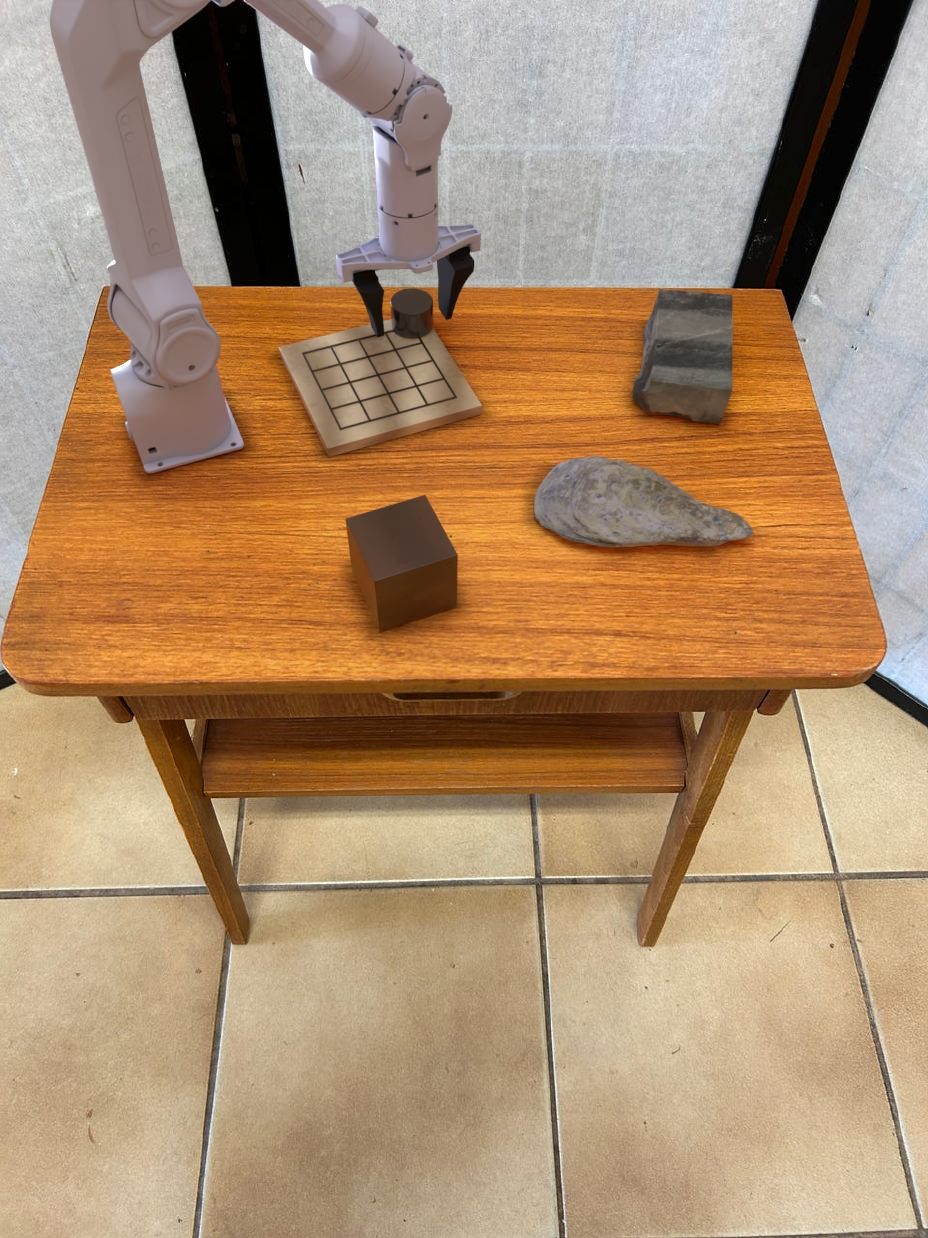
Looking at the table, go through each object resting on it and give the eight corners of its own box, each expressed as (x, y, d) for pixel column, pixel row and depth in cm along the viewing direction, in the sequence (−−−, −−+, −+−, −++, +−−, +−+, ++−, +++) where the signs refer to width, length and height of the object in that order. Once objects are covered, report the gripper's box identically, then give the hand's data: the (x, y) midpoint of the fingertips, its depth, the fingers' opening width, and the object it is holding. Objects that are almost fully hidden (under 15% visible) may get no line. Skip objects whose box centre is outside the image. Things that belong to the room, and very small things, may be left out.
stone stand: (379, 633, 79) (374, 581, 73) (352, 571, 83) (345, 518, 77) (457, 607, 81) (458, 554, 75) (426, 548, 85) (425, 494, 79)
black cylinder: (400, 342, 99) (399, 318, 96) (385, 317, 101) (384, 293, 99) (439, 332, 100) (439, 308, 97) (424, 308, 102) (423, 283, 100)
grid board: (328, 457, 91) (327, 447, 90) (280, 355, 99) (278, 345, 98) (481, 414, 95) (482, 404, 94) (422, 320, 103) (422, 309, 102)
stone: (740, 587, 85) (741, 501, 91) (754, 564, 82) (755, 476, 87) (526, 546, 85) (540, 462, 91) (533, 522, 82) (546, 436, 88)
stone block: (630, 416, 95) (639, 375, 91) (638, 326, 103) (646, 284, 99) (721, 427, 94) (733, 385, 90) (721, 335, 102) (733, 293, 98)
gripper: (348, 240, 85) (359, 362, 96) (495, 207, 89) (490, 328, 100) (323, 200, 89) (336, 321, 100) (466, 169, 93) (463, 290, 104)
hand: (411, 322), depth 100 cm, fingers open, 7 cm apart
